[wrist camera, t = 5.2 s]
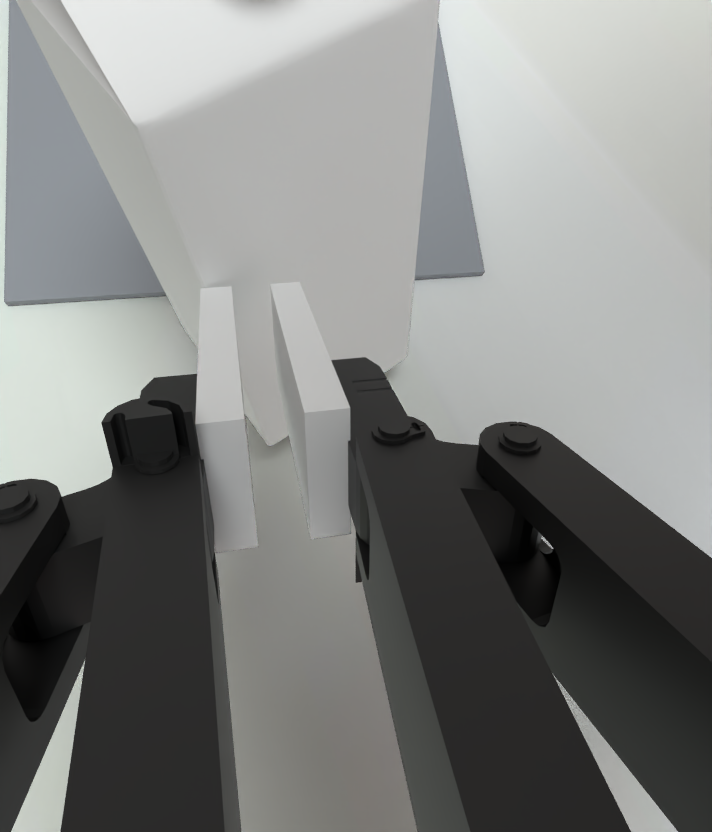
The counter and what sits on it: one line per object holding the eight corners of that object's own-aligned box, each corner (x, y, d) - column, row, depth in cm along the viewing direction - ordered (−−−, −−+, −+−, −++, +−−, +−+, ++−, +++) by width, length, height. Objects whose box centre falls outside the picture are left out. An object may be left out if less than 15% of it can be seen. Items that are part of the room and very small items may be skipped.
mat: (430, -3, 33) (432, -9, 33) (481, 275, 29) (484, 271, 29) (12, -2, 31) (9, -9, 30) (8, 305, 27) (4, 301, 26)
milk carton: (184, 332, 27) (-154, -330, 10) (315, 256, 28) (225, -424, 11) (270, 450, 24) (12, -172, 7) (408, 359, 26) (475, -324, 9)
